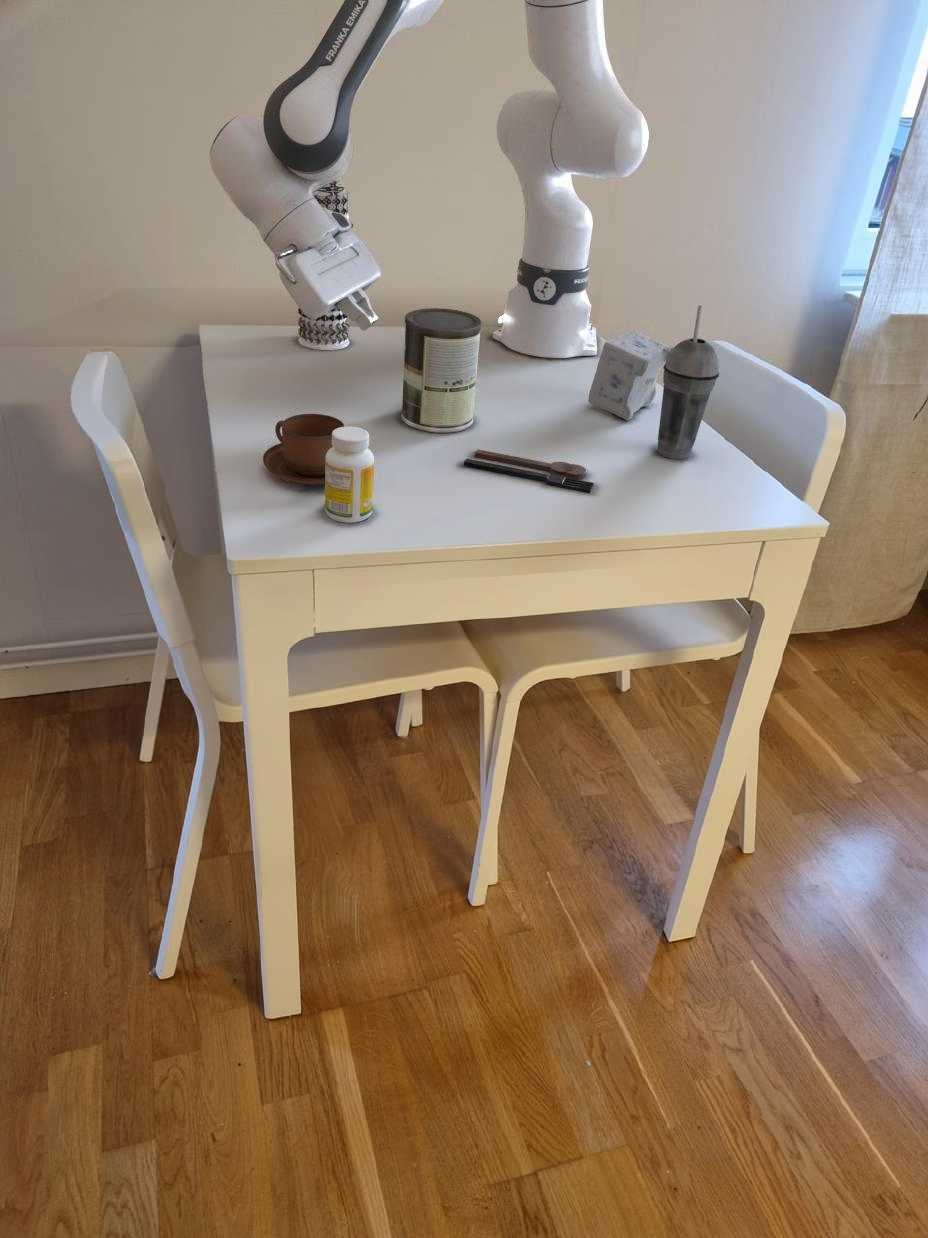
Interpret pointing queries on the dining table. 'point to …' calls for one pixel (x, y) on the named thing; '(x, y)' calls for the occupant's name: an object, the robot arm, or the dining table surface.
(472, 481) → the dining table surface
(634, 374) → the incense holder
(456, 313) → the coffee can
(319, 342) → the decorative candle
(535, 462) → the spoon
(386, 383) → the dining table surface
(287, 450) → the cup and saucer
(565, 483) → the fork
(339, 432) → the supplement bottle
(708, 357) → the beverage cup
